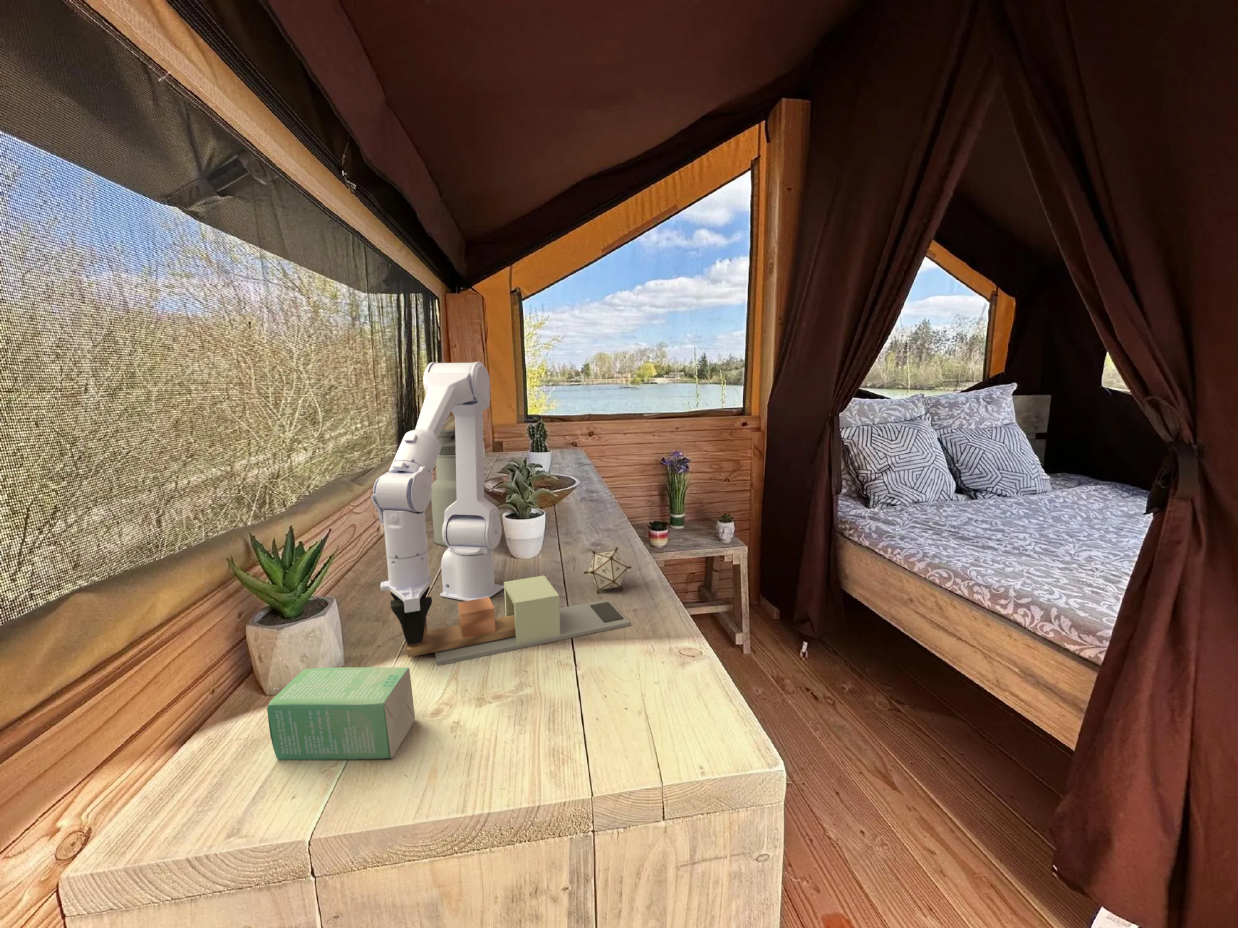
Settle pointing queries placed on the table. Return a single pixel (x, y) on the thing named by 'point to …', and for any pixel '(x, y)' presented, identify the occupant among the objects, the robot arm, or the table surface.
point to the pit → (606, 612)
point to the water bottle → (444, 482)
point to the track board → (571, 625)
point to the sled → (466, 629)
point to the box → (342, 714)
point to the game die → (607, 570)
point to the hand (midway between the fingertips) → (414, 636)
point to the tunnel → (533, 608)
